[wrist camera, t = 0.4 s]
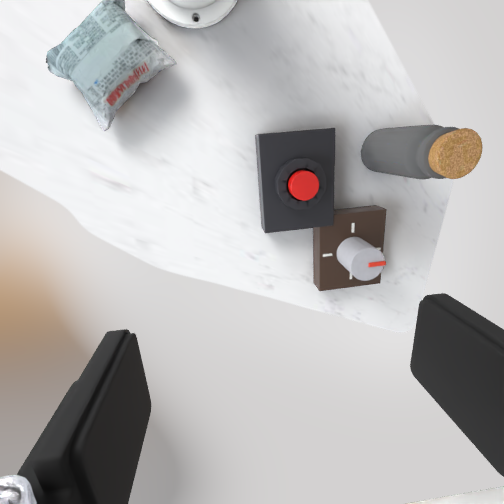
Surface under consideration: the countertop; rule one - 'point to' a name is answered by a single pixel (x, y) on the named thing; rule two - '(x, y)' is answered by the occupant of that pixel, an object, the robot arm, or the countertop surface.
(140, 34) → the packaged food
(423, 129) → the bottle
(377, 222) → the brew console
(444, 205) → the countertop surface
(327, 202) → the push button base
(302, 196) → the power button
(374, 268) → the dial
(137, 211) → the countertop surface
